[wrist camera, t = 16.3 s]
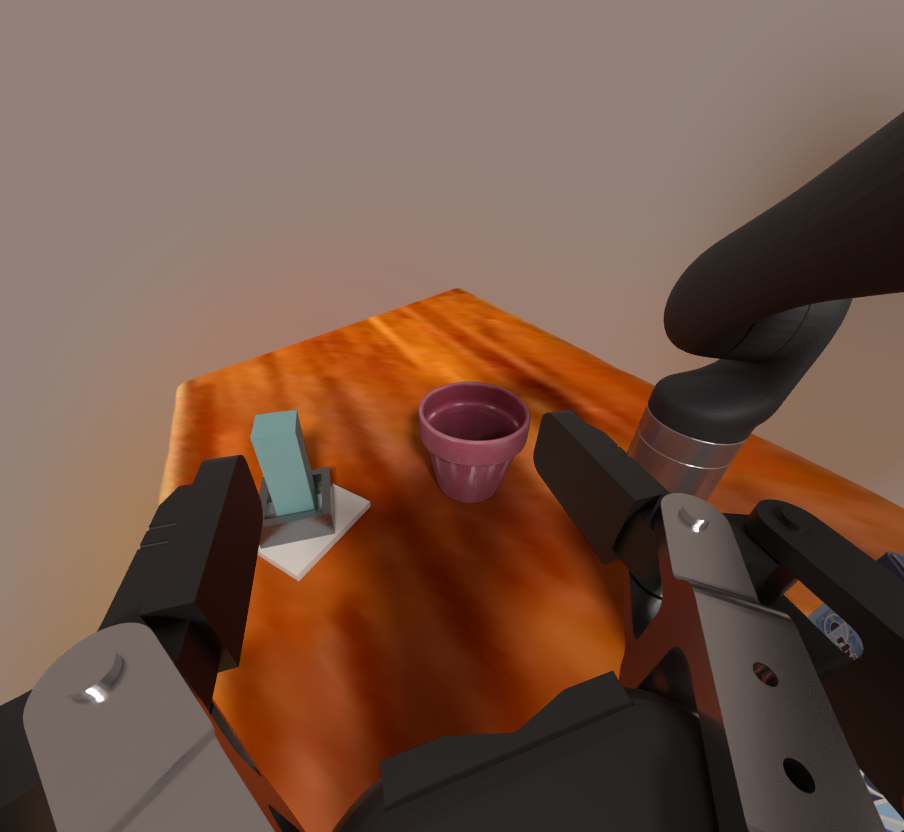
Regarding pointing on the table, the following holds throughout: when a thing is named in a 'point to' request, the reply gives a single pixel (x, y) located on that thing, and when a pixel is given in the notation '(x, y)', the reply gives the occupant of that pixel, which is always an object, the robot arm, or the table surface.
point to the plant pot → (472, 436)
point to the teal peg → (284, 462)
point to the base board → (310, 551)
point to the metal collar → (299, 515)
